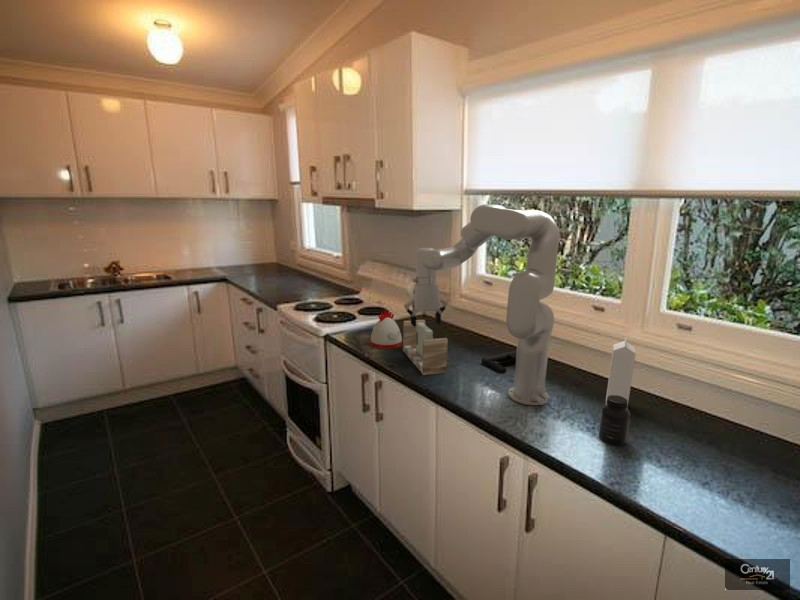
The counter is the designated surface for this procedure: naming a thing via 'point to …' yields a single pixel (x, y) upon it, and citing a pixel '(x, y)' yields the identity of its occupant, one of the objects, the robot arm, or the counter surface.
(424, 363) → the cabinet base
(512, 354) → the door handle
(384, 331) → the kitchen timer
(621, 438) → the supplement bottle
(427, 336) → the door panel
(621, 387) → the milk
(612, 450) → the counter surface
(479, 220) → the robot arm
